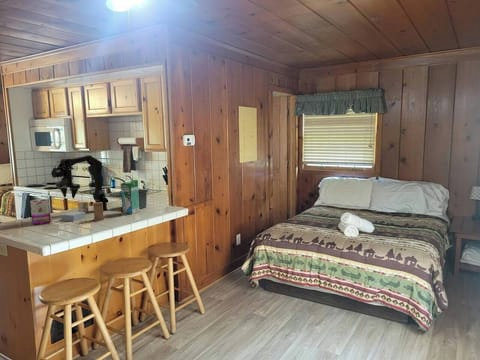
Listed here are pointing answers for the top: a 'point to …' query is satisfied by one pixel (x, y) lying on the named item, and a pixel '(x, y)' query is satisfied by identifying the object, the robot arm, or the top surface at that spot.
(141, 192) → the storage bin
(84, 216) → the base block
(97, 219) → the walnut block
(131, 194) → the milk carton
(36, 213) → the candy bar box
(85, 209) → the birch block
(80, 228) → the top surface
